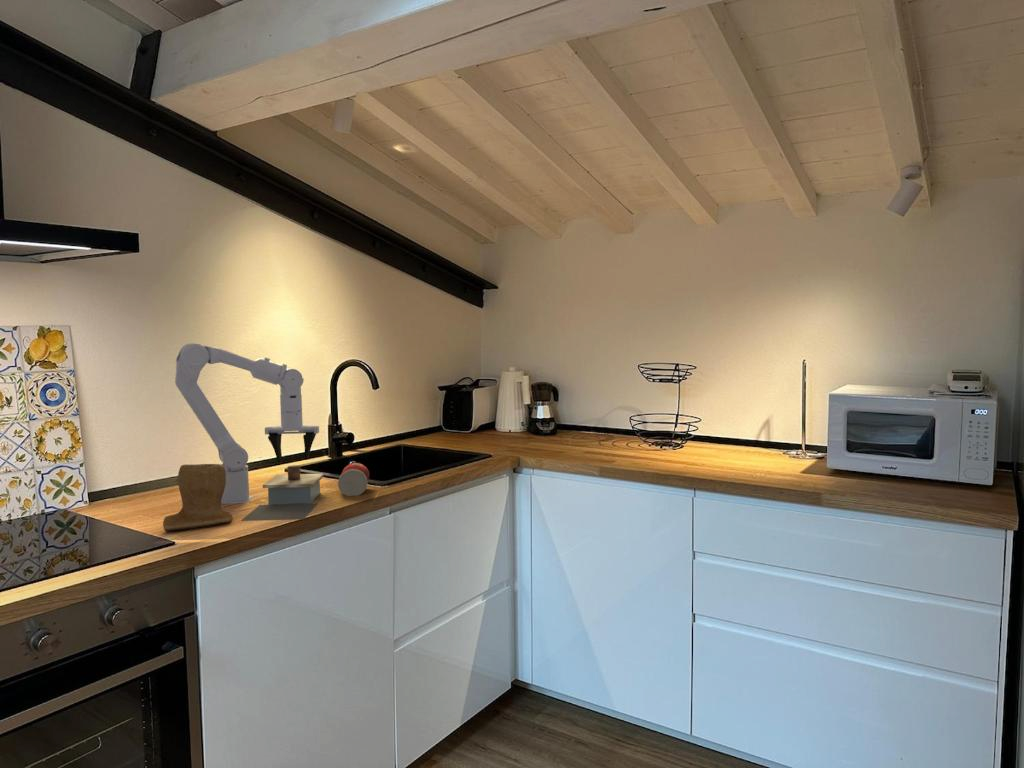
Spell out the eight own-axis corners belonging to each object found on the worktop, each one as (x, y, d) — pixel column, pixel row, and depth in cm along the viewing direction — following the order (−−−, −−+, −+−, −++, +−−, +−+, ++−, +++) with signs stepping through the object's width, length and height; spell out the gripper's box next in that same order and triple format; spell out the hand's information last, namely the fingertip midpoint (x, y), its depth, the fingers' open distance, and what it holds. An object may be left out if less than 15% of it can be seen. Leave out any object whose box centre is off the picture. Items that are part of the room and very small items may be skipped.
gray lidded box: (268, 505, 181) (268, 486, 180) (280, 495, 192) (279, 477, 191) (311, 504, 181) (310, 485, 181) (320, 494, 192) (319, 477, 192)
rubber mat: (240, 522, 165) (240, 520, 165) (259, 506, 180) (259, 504, 180) (304, 520, 166) (303, 518, 166) (317, 505, 180) (317, 503, 180)
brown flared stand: (227, 515, 172) (225, 456, 170) (235, 526, 161) (233, 463, 160) (159, 524, 164) (156, 462, 163) (164, 537, 154) (160, 471, 152)
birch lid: (262, 488, 179) (262, 471, 179) (276, 477, 192) (275, 462, 192) (313, 486, 180) (312, 470, 179) (323, 476, 193) (323, 461, 192)
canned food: (336, 472, 198) (332, 480, 188) (360, 456, 199) (357, 464, 188) (351, 493, 200) (347, 502, 189) (374, 478, 200) (372, 486, 189)
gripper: (260, 413, 187) (262, 462, 188) (314, 412, 188) (316, 461, 189) (268, 410, 194) (270, 457, 195) (320, 409, 195) (321, 456, 196)
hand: (293, 459), depth 193 cm, fingers open, 7 cm apart
